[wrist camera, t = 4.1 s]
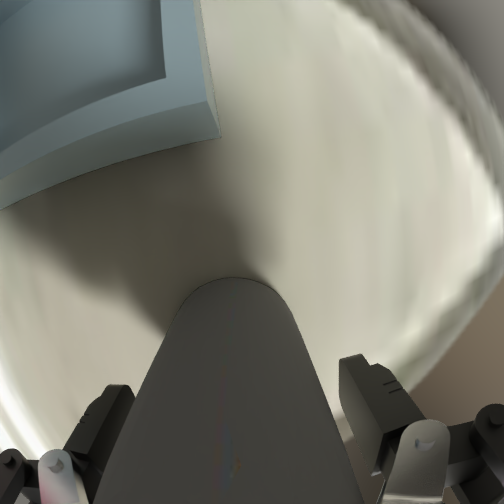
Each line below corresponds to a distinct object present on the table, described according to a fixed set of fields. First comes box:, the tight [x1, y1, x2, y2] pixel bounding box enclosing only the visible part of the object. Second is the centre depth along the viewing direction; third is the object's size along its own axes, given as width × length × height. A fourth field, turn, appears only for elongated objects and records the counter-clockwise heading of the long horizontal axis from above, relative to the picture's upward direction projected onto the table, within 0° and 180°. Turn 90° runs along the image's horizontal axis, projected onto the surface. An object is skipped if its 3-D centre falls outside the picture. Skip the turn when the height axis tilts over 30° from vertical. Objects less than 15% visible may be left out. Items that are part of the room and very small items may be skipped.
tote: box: [0, 0, 221, 210], centre depth 7 cm, size 16×16×5 cm
